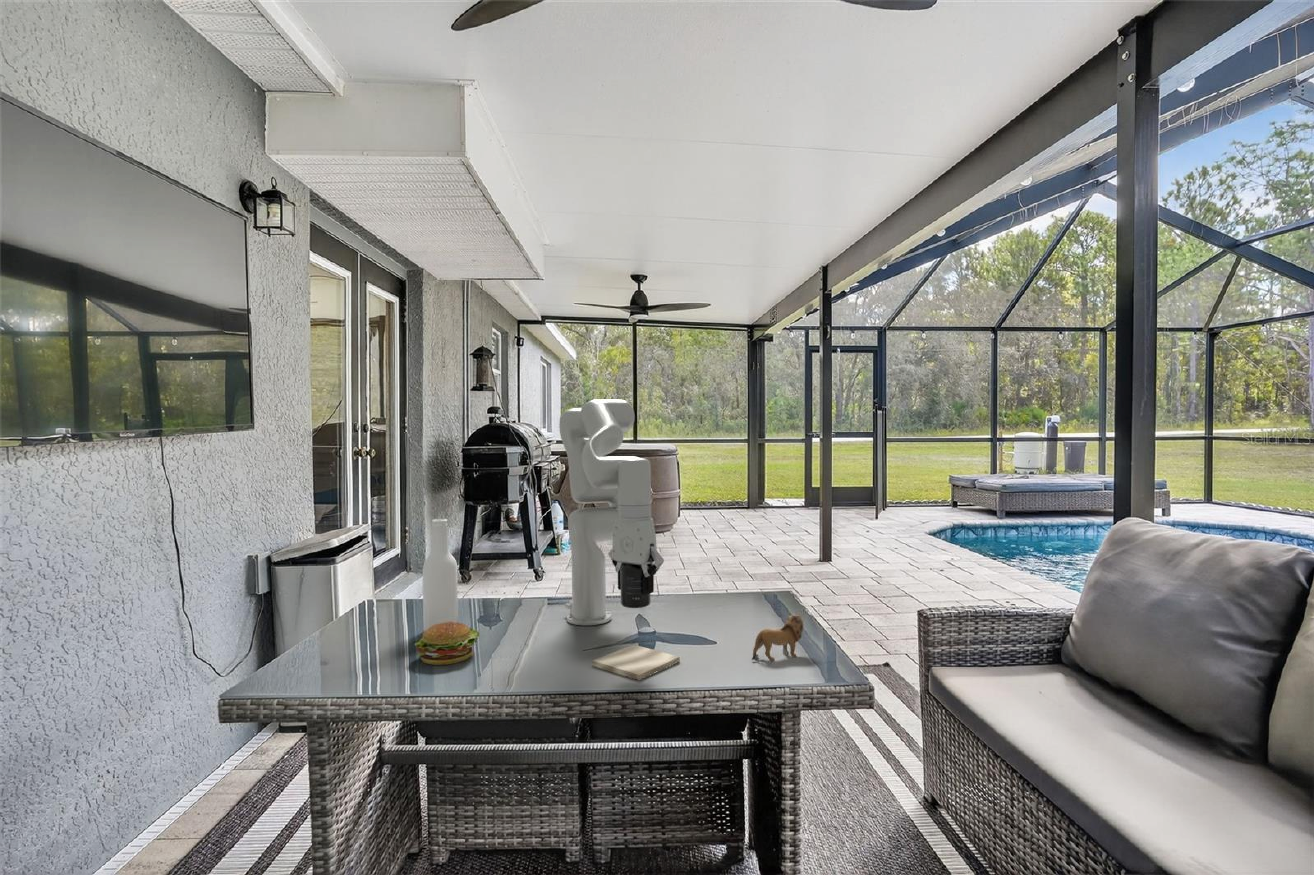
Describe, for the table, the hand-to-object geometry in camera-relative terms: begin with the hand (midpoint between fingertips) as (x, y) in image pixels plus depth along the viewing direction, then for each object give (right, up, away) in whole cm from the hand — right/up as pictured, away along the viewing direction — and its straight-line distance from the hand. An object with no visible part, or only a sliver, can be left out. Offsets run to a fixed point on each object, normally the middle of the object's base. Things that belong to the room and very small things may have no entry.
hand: (635, 590), depth 144 cm
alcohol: (-53, -18, +27) cm, 62 cm away
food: (-44, -18, +6) cm, 48 cm away
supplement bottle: (0, -4, 0) cm, 4 cm away
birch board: (0, -17, 0) cm, 17 cm away
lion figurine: (+33, -17, +5) cm, 38 cm away
